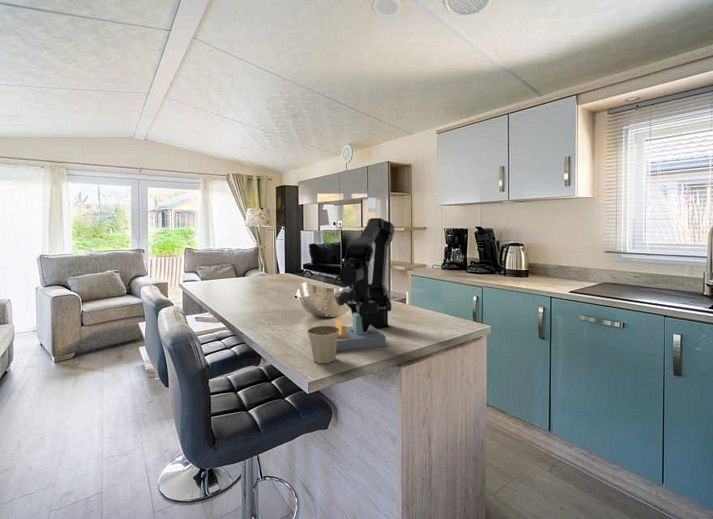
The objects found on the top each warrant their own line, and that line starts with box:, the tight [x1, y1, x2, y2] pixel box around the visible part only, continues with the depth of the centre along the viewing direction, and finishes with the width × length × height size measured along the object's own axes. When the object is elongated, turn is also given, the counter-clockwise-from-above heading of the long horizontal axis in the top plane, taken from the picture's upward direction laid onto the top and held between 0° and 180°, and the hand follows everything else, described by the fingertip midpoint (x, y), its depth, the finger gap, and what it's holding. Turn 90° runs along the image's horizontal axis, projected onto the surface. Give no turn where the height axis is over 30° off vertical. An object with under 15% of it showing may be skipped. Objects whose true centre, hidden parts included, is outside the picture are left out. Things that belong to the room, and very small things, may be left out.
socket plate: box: [336, 325, 386, 352], centre depth 118 cm, size 20×14×3 cm
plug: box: [352, 313, 368, 335], centre depth 119 cm, size 4×4×9 cm
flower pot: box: [306, 325, 340, 364], centre depth 102 cm, size 9×9×9 cm
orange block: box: [334, 319, 347, 338], centre depth 116 cm, size 8×8×4 cm
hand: (360, 328), depth 119 cm, fingers open, 9 cm apart
